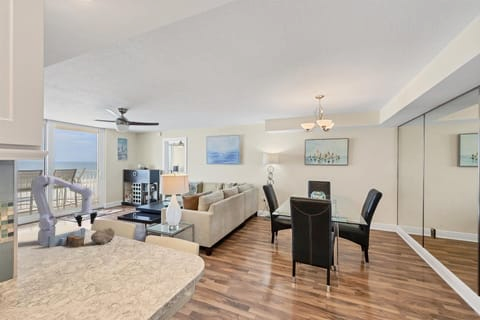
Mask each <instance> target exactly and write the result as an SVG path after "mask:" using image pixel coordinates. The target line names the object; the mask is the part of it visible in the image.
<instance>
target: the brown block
mask: <svg viewBox="0 0 480 320" xmlns="http://www.w3.org/2000/svg"><path fill="white" fill-rule="evenodd" d="M66 245H69V246H72V247H76V248H81V247H84V246H85V238H84V237H80V236H76V235H69V236H67V244H66Z"/></svg>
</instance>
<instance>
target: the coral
mask: <svg viewBox="0 0 480 320" xmlns="http://www.w3.org/2000/svg"><path fill="white" fill-rule="evenodd" d="M114 237H115V229H113V228H112V227H109V228H103V229H100V230H96V231H95V232H93V234H91V236H90V239H91V241H92V243H94V242H95V243H100V244H103V245H106V243H108V242H111V241H112V240H113V239H114Z"/></svg>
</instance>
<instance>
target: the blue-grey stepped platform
mask: <svg viewBox="0 0 480 320" xmlns="http://www.w3.org/2000/svg"><path fill="white" fill-rule="evenodd" d="M69 235H76V236H80V237H84V239H85V238H86V228H84V227H82V228H81V227H80V229H78V230H75V231H70V232H66V233H61V234H58V235H55V236H54V235H51V236H49V238H48V244H47V247H48V248H49V249H50V248H54V247H57V246H62V247H64V246H67V245H68V244H67V236H69Z"/></svg>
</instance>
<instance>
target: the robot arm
mask: <svg viewBox="0 0 480 320" xmlns="http://www.w3.org/2000/svg"><path fill="white" fill-rule="evenodd" d="M51 184H52V185H54V184H55V185H58V186H62V187H65V188H67V189H68V190H69V191H70V192H73V193H75V194H78V195H81V212H76V213H73V217H74V219H75V220H76V222H77V226H78V228H79V227H80V228H81V227H82V221H83V216H86V215H89V216H90V218H89V219H90V220H89V221H90V225H94V222H95V220H96V217H97V216H98V213H99V210H98V209H94V210H92V209H93V194H94V189H93V188H91V187H88V186H86V185H85V186H84V185H82V184H80V183H79V182H74V183H72V182H69V181H66V180H64V179H63V178H60V177H57V176H56V175H52V174H43V175H42V174H41V175H38V176H36V177H35V178H34V179H33V183H32V186H31V190H30V191H31V192H32V193H31V194H32V197H33V200H34V202H35V204H36V208H37V210H38V213H39V214H38V215H39V218H38V221H39V222H38V223H39V224H38V227H39V231H38V232H37V241H36V242H35V243H36V244H38V245H40V246H44V245H45V246H46V245H48V238H49V236H51V235H54V236H56V229H57V228H56V225H57V223H58V219H57V218H56V217H55V215H54V214H53V213H52V211H51V208H50V206H49V203H48V199H47V196H46V194H45V189H46V188H47V186H49V185H51Z"/></svg>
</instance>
